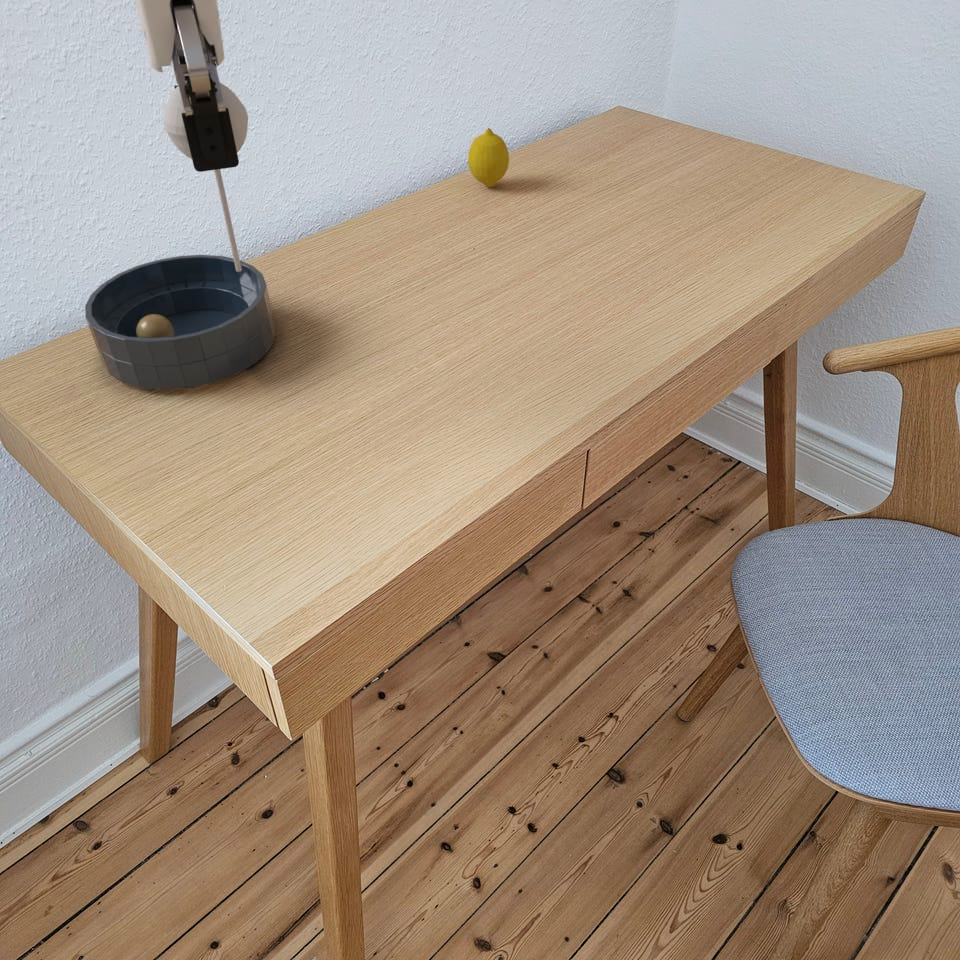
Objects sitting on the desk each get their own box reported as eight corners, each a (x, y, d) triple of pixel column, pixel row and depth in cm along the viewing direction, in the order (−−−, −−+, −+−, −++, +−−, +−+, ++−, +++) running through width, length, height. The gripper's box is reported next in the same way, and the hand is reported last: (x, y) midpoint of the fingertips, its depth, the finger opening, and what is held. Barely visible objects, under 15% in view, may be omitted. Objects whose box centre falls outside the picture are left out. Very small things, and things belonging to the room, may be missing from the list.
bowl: (107, 411, 79) (86, 356, 75) (101, 322, 91) (83, 271, 88) (290, 372, 84) (279, 319, 80) (261, 293, 96) (251, 243, 92)
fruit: (460, 186, 118) (458, 127, 113) (491, 176, 120) (491, 118, 115) (485, 198, 115) (485, 138, 109) (517, 188, 117) (517, 128, 112)
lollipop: (246, 247, 74) (208, 63, 64) (290, 267, 71) (257, 76, 61) (187, 273, 71) (136, 82, 61) (230, 295, 68) (185, 98, 58)
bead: (142, 360, 85) (132, 328, 82) (140, 342, 87) (130, 311, 85) (180, 352, 86) (170, 321, 83) (176, 335, 88) (167, 304, 86)
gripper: (85, -149, 58) (155, 123, 70) (84, -122, 46) (169, 202, 57) (197, -154, 60) (247, 112, 72) (225, -129, 47) (280, 187, 59)
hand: (211, 150), depth 64 cm, fingers closed on lollipop, 6 cm apart
